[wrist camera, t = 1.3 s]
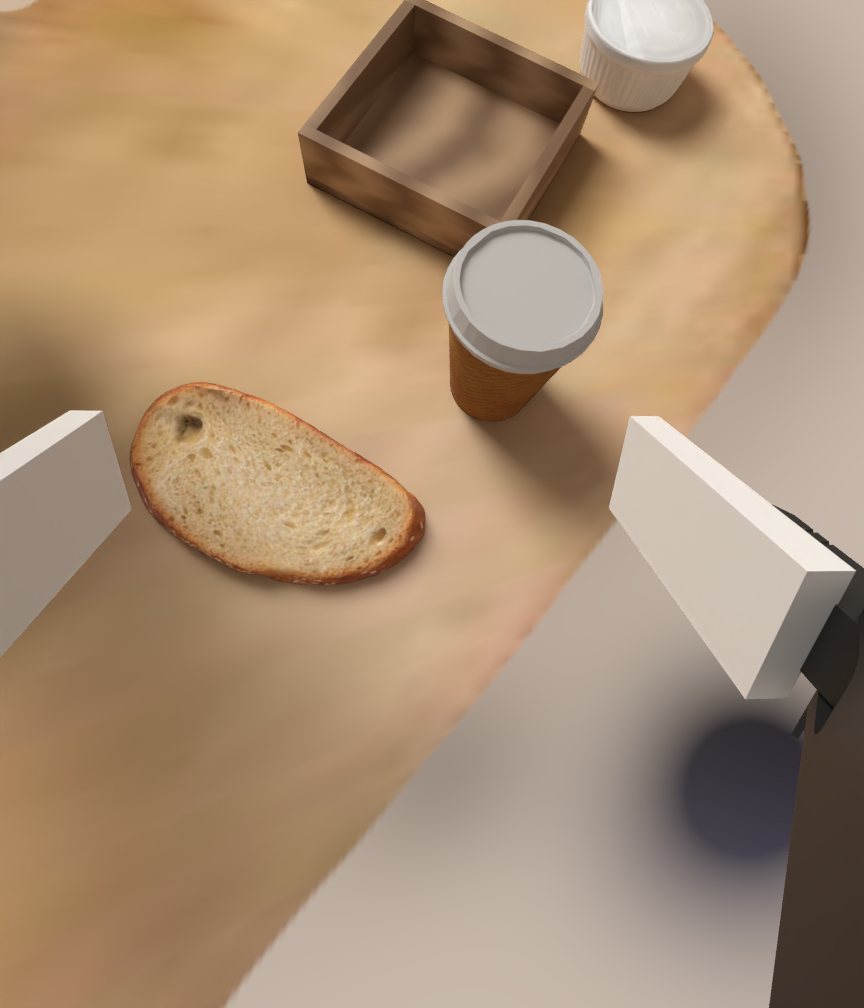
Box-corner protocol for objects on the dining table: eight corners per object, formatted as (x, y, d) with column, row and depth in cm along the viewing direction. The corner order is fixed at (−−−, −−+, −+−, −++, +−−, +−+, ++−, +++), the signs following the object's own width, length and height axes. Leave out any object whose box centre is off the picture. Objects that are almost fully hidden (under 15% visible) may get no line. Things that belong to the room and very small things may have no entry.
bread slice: (440, 548, 37) (445, 539, 34) (193, 651, 34) (170, 652, 31) (350, 341, 41) (346, 313, 37) (120, 418, 38) (91, 395, 34)
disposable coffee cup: (524, 460, 39) (580, 386, 28) (409, 411, 39) (417, 317, 28) (565, 358, 42) (632, 251, 30) (457, 313, 42) (482, 189, 30)
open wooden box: (307, 182, 44) (297, 132, 40) (408, 50, 48) (410, -7, 44) (494, 277, 43) (506, 236, 39) (579, 133, 48) (598, 83, 43)
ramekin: (545, 67, 49) (562, 1, 44) (623, 18, 52) (648, -49, 47) (627, 142, 48) (656, 83, 43) (704, 88, 50) (739, 26, 45)
